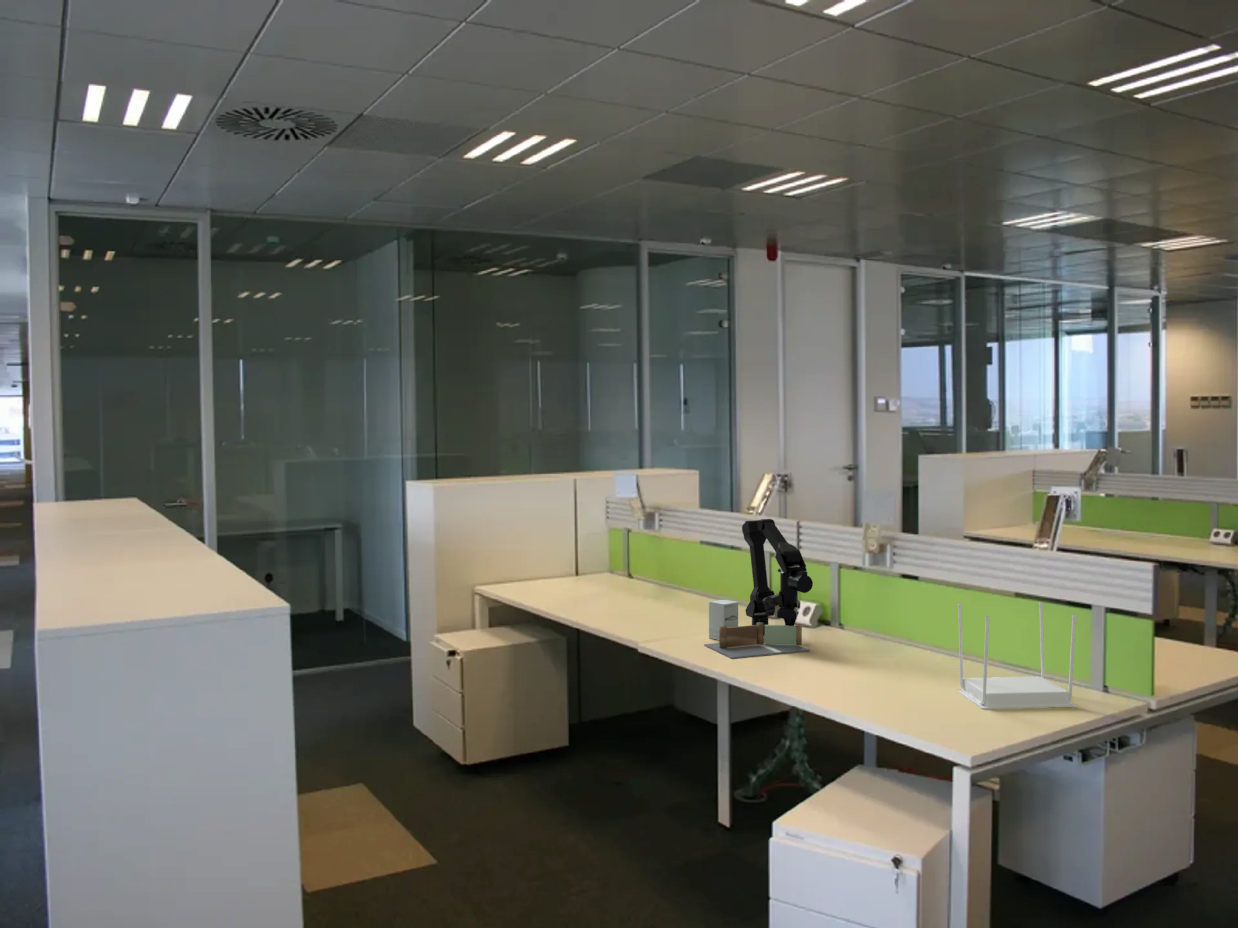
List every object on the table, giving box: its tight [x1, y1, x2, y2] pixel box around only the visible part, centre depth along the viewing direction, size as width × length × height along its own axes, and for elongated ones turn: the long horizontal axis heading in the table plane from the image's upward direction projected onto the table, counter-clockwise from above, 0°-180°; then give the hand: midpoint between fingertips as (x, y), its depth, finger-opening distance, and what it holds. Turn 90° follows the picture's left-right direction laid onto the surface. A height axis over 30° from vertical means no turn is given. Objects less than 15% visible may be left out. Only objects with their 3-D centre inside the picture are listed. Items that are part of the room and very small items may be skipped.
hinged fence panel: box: [764, 624, 803, 646], centre depth 337 cm, size 2×12×6 cm, turn 79°
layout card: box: [703, 638, 811, 660], centre depth 335 cm, size 20×28×1 cm
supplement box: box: [708, 599, 739, 641], centre depth 350 cm, size 7×7×13 cm
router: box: [957, 601, 1077, 711], centre depth 272 cm, size 19×25×24 cm
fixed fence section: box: [718, 622, 765, 649], centre depth 336 cm, size 2×16×7 cm, turn 110°
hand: (789, 634), depth 339 cm, fingers closed
